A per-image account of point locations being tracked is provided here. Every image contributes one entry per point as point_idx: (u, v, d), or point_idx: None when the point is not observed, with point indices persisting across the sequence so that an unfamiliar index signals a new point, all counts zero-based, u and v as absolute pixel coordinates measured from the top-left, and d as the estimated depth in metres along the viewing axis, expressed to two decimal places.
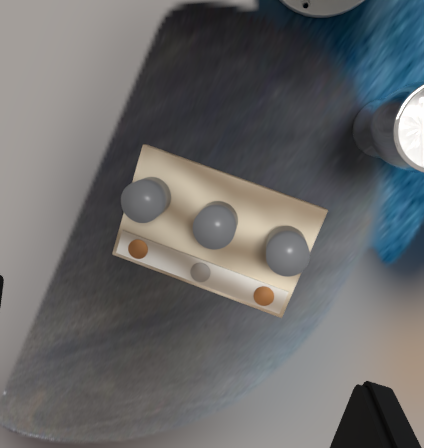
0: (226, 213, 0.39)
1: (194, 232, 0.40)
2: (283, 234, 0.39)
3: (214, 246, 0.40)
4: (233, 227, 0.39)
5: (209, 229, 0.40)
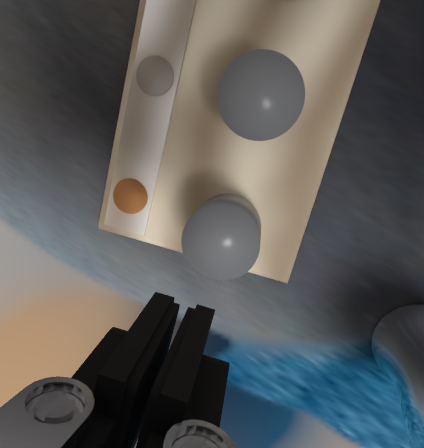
0: (294, 120, 0.20)
1: (249, 54, 0.19)
2: (259, 232, 0.21)
3: (223, 101, 0.20)
4: (266, 137, 0.20)
5: (259, 88, 0.19)
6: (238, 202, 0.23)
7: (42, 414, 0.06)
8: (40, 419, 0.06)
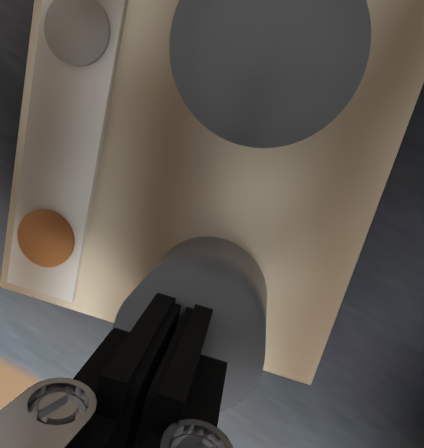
0: (344, 101, 0.09)
1: None
2: (262, 327, 0.11)
3: (184, 59, 0.09)
4: (280, 139, 0.09)
5: (263, 27, 0.08)
6: (224, 261, 0.12)
7: (45, 415, 0.06)
8: (43, 420, 0.06)
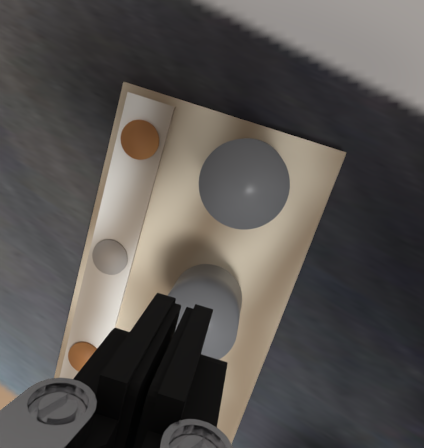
0: (227, 350, 0.21)
1: (186, 291, 0.20)
2: None
3: None
4: None
5: None
6: None
7: (45, 415, 0.06)
8: (42, 420, 0.06)
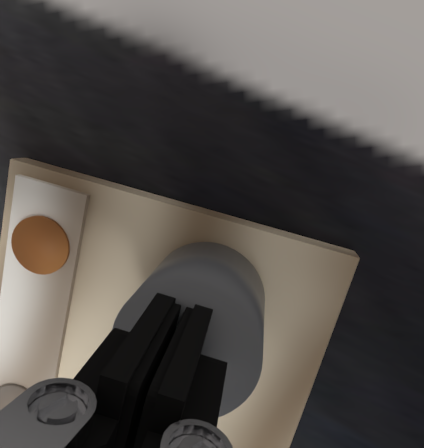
0: None
1: None
2: None
3: None
4: None
5: None
6: None
7: (44, 415, 0.06)
8: (42, 420, 0.06)
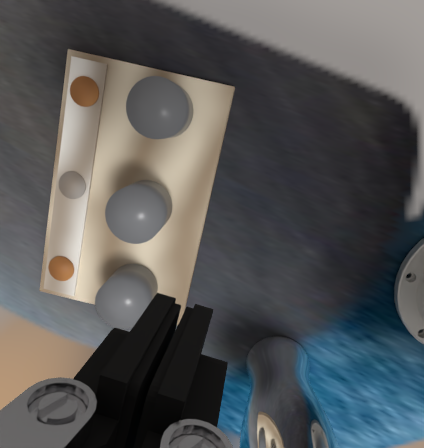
0: (157, 230, 0.29)
1: (123, 190, 0.29)
2: (146, 296, 0.32)
3: (109, 219, 0.29)
4: (140, 241, 0.30)
5: (132, 210, 0.29)
6: (134, 274, 0.33)
7: (44, 415, 0.06)
8: (42, 420, 0.06)
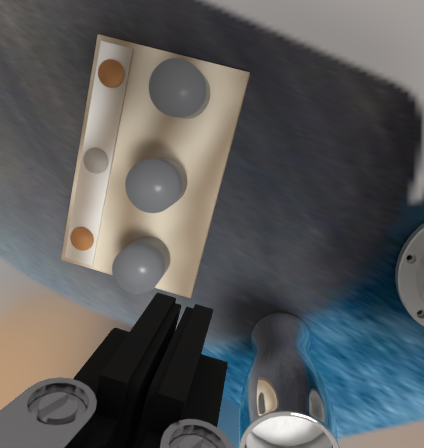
0: (172, 201, 0.32)
1: (143, 162, 0.31)
2: (159, 264, 0.34)
3: (129, 189, 0.32)
4: (156, 211, 0.32)
5: (150, 182, 0.32)
6: (149, 244, 0.36)
7: (44, 415, 0.06)
8: (42, 420, 0.06)
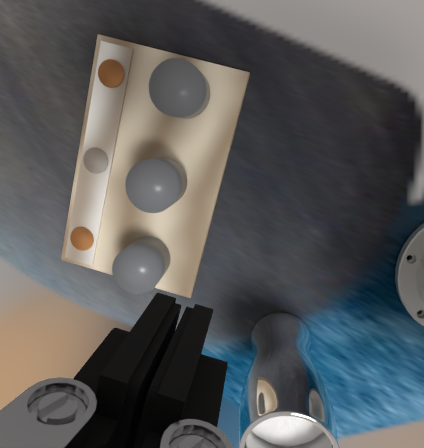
0: (172, 201, 0.32)
1: (143, 162, 0.31)
2: (159, 264, 0.34)
3: (129, 189, 0.32)
4: (156, 211, 0.32)
5: (150, 182, 0.32)
6: (149, 244, 0.36)
7: (44, 415, 0.06)
8: (42, 420, 0.06)
